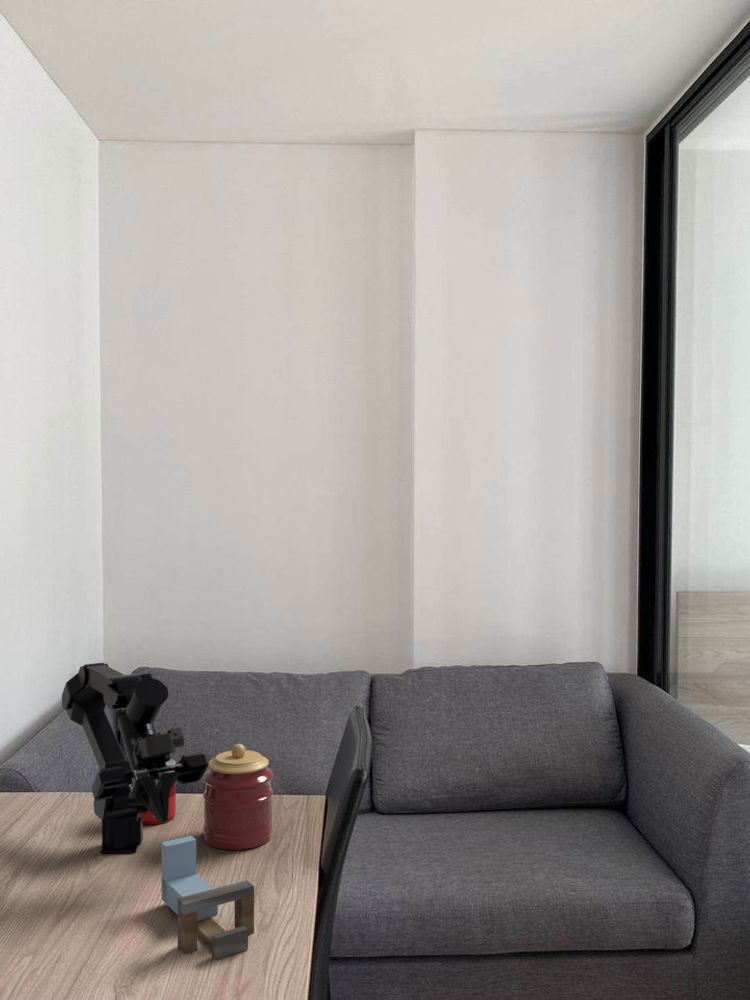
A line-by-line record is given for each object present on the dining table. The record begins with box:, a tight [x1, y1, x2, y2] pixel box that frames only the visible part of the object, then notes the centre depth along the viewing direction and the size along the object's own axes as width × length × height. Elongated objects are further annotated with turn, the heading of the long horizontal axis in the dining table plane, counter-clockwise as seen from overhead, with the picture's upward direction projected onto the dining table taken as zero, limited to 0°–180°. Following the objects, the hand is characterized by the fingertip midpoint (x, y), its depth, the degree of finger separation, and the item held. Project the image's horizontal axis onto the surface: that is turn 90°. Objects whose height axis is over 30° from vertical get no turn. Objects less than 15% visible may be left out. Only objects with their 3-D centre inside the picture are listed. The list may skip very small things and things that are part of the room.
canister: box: [202, 743, 274, 851], centre depth 173 cm, size 13×13×18 cm
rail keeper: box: [177, 879, 255, 960], centre depth 138 cm, size 18×11×7 cm, turn 34°
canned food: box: [140, 758, 177, 826], centre depth 183 cm, size 8×8×11 cm
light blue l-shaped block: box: [161, 835, 219, 921], centre depth 143 cm, size 10×5×9 cm, turn 34°
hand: (164, 821), depth 151 cm, fingers closed
